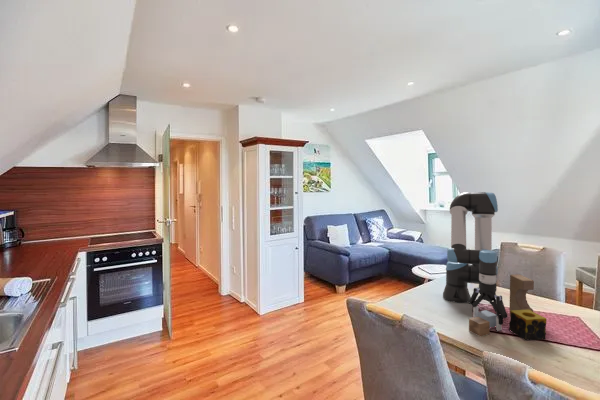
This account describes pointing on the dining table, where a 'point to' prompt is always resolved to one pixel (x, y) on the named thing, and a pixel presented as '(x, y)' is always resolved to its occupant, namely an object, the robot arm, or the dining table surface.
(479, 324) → the walnut cube
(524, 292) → the decorative block
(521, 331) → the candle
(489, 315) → the slate block
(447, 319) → the dining table surface
